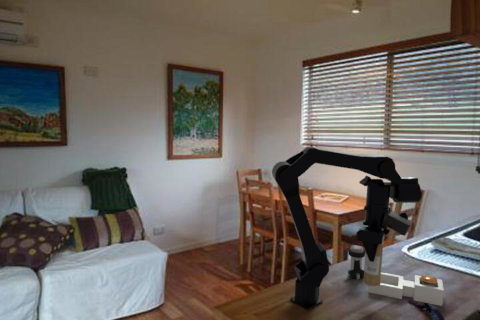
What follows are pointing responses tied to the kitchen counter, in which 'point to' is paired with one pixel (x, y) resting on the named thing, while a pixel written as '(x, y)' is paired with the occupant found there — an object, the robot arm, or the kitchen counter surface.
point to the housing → (409, 289)
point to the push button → (356, 262)
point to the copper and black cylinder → (428, 280)
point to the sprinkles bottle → (373, 268)
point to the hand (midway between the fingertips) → (373, 258)
